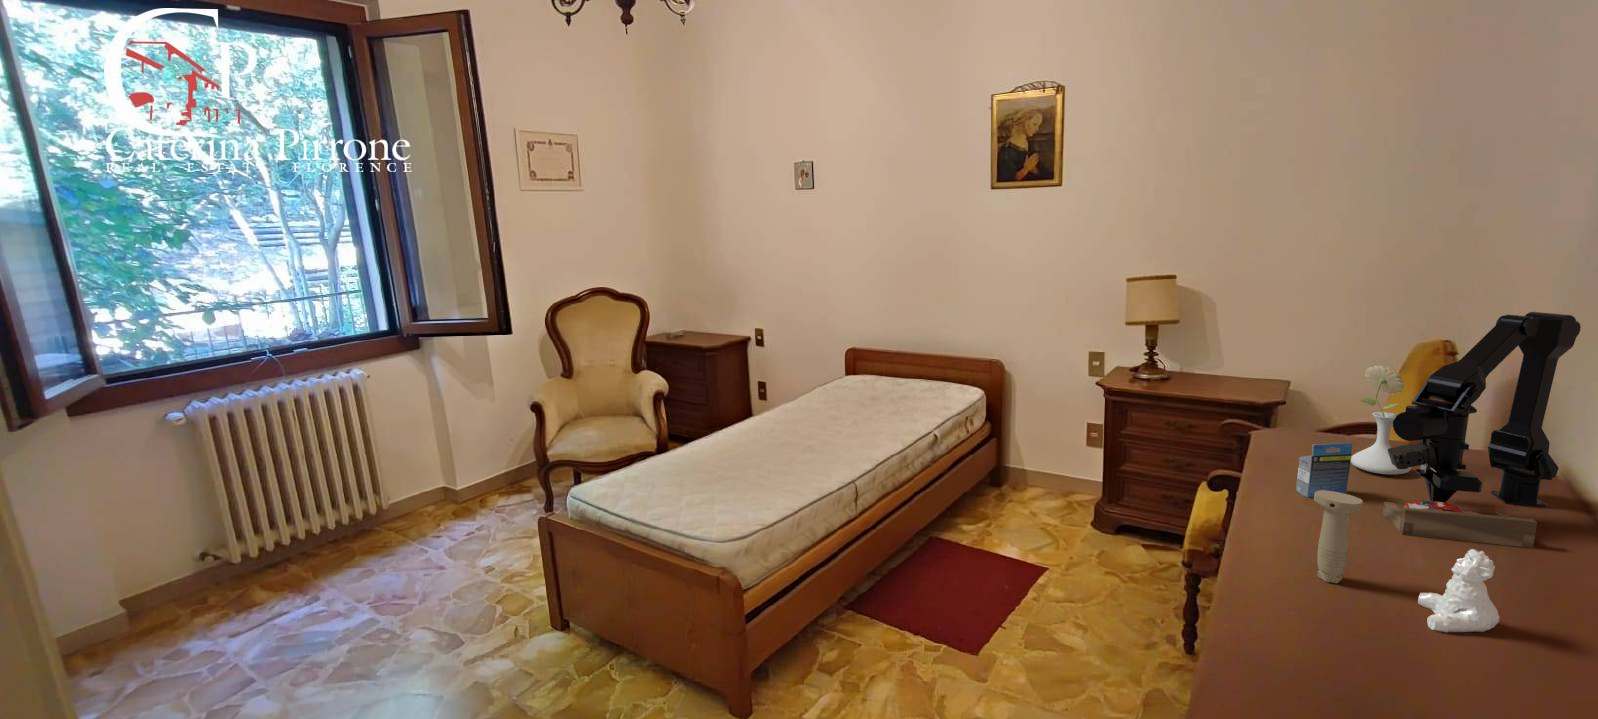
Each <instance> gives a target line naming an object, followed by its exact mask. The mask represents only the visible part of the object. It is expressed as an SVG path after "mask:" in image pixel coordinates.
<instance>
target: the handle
mask: <svg viewBox="0 0 1598 719" xmlns="http://www.w3.org/2000/svg"><path fill="white" fill-rule="evenodd" d="M1313 500H1314V502H1315V503H1317V504H1318V505H1319V506H1320V507H1323V517H1322V522H1321V528H1320V533H1319V540H1318V546H1317V557H1316V558H1317V568H1318V569H1319V570H1317V577H1318V579H1321V580H1323V582H1325V583H1333V584H1339V582H1341V581H1342V579H1343V577H1344V576H1343V573H1344V571H1345V568H1346V564H1347V559H1348V558H1347V557H1348V547H1349V546H1348V541H1349V518H1350V515H1351V514H1350V513H1355V512H1358V511H1360V510H1361V509H1362V508H1363V502H1364V501H1363V500H1362V499H1361V498H1360V497H1357V496H1354V495H1351V494H1348V493H1346V494H1344V493H1339V492H1334V491H1325V490H1320V491H1316V492H1315V494H1314V497H1313Z"/></svg>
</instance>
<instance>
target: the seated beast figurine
mask: <svg viewBox="0 0 1598 719" xmlns="http://www.w3.org/2000/svg"><path fill="white" fill-rule="evenodd" d="M1495 569H1496V566H1495V565H1494V561H1493V560H1491V559H1490V558H1489V556H1488V555H1486V553H1485V552H1484V551H1483V550H1479V551H1478V550H1477V549H1473V548H1470V549H1469V550H1467V552H1466V553H1465V554H1464V557H1463V558H1457V559H1456V562H1455V564H1454V565H1453V567H1451V571H1452V573H1453V575H1452V576H1451V579H1448V582H1447V583H1446V584H1445V586H1446V589H1444V590H1445V591H1444V593H1443V594H1439V593H1436V592H1420V593H1419V596H1418V599H1417V604H1418V605H1419V606H1420V607H1422V608H1426V609H1428V610H1432V612H1433V613H1434V614H1431V615H1429V616H1427V621H1426V622H1427V623H1426V624H1427V626H1428V628H1429V629H1431V630H1432V631H1436V632H1443V633H1446V634H1447V633H1473V632H1477V633H1478V632H1479V633H1483V632H1486V631H1489V630H1492V628H1495V627H1496V625H1498V624H1499V621H1500V618H1501V616H1500V615H1499V612H1498V609H1497V607H1496V606H1495V604H1494V603H1493V601H1492V600H1490V599H1491V598H1490V596H1489V594H1488V588H1487V587H1488V586H1487V585H1486V584H1485V581H1487V580H1488V579H1492V578H1493V576H1494V571H1495Z"/></svg>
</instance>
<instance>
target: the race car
mask: <svg viewBox="0 0 1598 719" xmlns="http://www.w3.org/2000/svg"><path fill="white" fill-rule="evenodd" d="M1403 507H1406V508H1417V509H1428V510H1439V511H1450V512H1461V513H1472V514H1480V513H1479V512H1476V511H1473V510H1469V509H1464V508H1459V507H1458V506H1455V505H1453V504H1451V503H1449V502H1446V503H1445V502H1437V501H1430V500H1424V501H1423V500H1421V501H1414V502H1406V503H1405V504H1404V505H1403Z"/></svg>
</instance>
